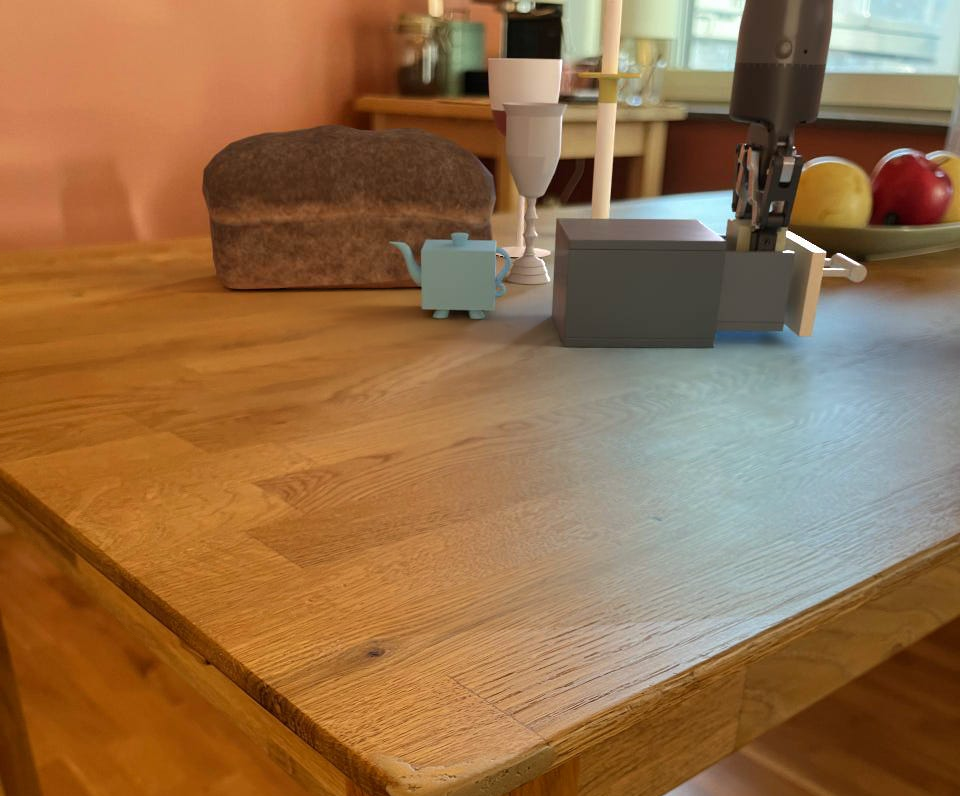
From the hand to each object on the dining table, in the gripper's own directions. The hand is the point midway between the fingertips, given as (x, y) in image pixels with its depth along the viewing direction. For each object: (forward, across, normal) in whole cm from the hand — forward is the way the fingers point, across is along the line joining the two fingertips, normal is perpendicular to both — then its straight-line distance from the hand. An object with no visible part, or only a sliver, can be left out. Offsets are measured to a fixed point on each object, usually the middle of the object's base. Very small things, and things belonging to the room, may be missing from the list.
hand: (751, 269), depth 94 cm
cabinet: (+6, 0, +11) cm, 12 cm away
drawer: (+5, 0, -1) cm, 5 cm away
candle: (+6, +55, +7) cm, 56 cm away
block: (0, 0, 0) cm, 0 cm away
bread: (+6, +24, +39) cm, 46 cm away
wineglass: (+6, +42, +19) cm, 46 cm away
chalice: (+6, +24, +19) cm, 31 cm away
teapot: (+6, +7, +28) cm, 29 cm away
